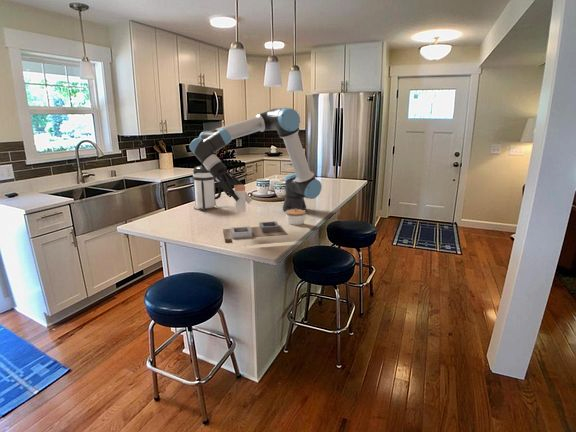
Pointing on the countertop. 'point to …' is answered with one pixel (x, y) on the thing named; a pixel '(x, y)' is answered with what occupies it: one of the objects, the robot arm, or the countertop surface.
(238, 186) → the plug
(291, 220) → the lidded jar
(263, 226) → the frame
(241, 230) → the port
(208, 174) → the coffee press
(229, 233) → the walnut board
